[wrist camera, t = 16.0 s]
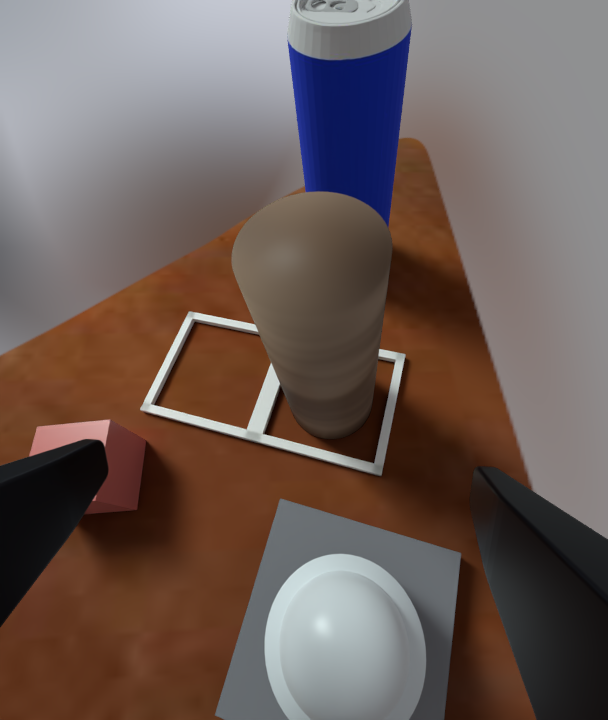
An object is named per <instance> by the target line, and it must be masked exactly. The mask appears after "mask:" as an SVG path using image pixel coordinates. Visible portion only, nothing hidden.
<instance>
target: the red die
mask: <svg viewBox="0 0 608 720" xmlns="http://www.w3.org/2000/svg"><path fill="white" fill-rule="evenodd" d="M83 439H96V440H101V441H102V442H103V443H104V446H105V451H106V456H107V461H108V466H109V472H108V476H107V478H106V480H105V482H104V483H103V485H102V486H101V488H100V490H99V491H98V493H97V494H96V496H95V498H94V499H93V501H92V502H91V504H90V505H89V507H88V509H87V510H86V512H85V513H84V514H94V513H106V512H119V511H131V510H137V506H138V499H139V491H140V484H141V476H142V469H143V461H144V454H145V446H146V440H145V439H143V438H141V437H139V436H138V435H136V434H134V433H132V432H131V431H129V430H127V429H125V428H124V427H122V426H120V425H119V424H117V423H115V422H113V421H112V420H101V421H91V422H81V423H71V424H61V425H50V426H40V427H37V430H36V434H35V437H34V441H33V445H32V448H31V452H30V456H33V455H36V454H39V453H42V452H45V451H49V450H52V449H55V448H58V447H61V446H64V445H67V444H70V443H74V442H77V441H80V440H83ZM30 456H29V457H30Z"/></svg>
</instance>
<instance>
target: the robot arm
mask: <svg viewBox="0 0 608 720" xmlns="http://www.w3.org/2000/svg"><path fill="white" fill-rule="evenodd" d="M108 472H109V466H108V461H107V456H106V451H105V446H104V443H103V442H102V441H101V440H96V439H83V440H80V441H77V442H74V443H70V444H67V445H64V446H61V447H58V448H55V449H52V450H49V451H45V452H42V453H39V454H36V455H33V456H30V457H27V458H24V459H20V460H17V461H14V462H11V463H8V464H5V465H2V466H0V627H1V626H2V624H3V623H4V622H5V620H6V619H7V618H8V617H9V615H10V614H11V613H12V611H13V610H14V609H15V607H16V606H17V605H18V603H19V602H20V601H21V599H22V598H23V597H24V595H25V594H26V593H27V591H28V590H29V589H30V588H31V586H32V585H33V584H34V582H35V581H36V580H37V578H38V577H39V576H40V574H41V573H42V572H43V570H44V569H45V568H46V566H47V565H48V564H49V563H50V561H51V560H52V559H53V557H54V556H55V555H56V553H57V552H58V551H59V549H60V548H61V547H62V545H63V544H64V543H65V541H66V540H67V539H68V537H69V536H70V535H71V533H72V532H73V530H74V529H75V527H76V526H77V524H78V523H79V521H80V520H81V518H82V517H83V515H84V513H85V512H86V510H87V509H88V507H89V505H90V504H91V502H92V501H93V499H94V498H95V496H96V494H97V493H98V491H99V490H100V488H101V486H102V485H103V483H104V482H105V480H106V478H107V476H108ZM470 510H471V514H472V518H473V523H474V527H475V531H476V536H477V540H478V544H479V549H480V553H481V557H482V562H483V566H484V570H485V574H486V577H487V580H488V583H489V586H490V589H491V592H492V594H493V597H494V600H495V603H496V606H497V609H498V611H499V614H500V617H501V620H502V623H503V626H504V628H505V631H506V634H507V637H508V640H509V643H510V645H511V648H512V651H513V654H514V657H515V659H516V662H517V665H518V668H519V671H520V674H521V676H522V679H523V682H524V685H525V688H526V691H527V693H528V696H529V699H530V702H531V705H532V707H533V710H534V713H535V716H536V719H537V720H608V539H606V538H605V537H603V536H602V535H600V534H599V533H597V532H595V531H594V530H592V529H591V528H589V527H588V526H586V525H584V524H583V523H581V522H580V521H578V520H577V519H575V518H574V517H572V516H570V515H569V514H567V513H566V512H564V511H563V510H561V509H559V508H558V507H556V506H555V505H553V504H552V503H550V502H549V501H547V500H545V499H544V498H542V497H541V496H539V495H538V494H536V493H535V492H533V491H531V490H530V489H528V488H527V487H525V486H524V485H522V484H521V483H519V482H517V481H516V480H514V479H513V478H511V477H510V476H508V475H507V474H505V473H503V472H502V471H500V470H499V469H497V468H495V467H485V466H477V467H476V468H475V469H474V472H473V478H472V485H471V492H470Z"/></svg>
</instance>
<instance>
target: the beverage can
mask: <svg viewBox="0 0 608 720" xmlns="http://www.w3.org/2000/svg"><path fill="white" fill-rule="evenodd" d="M411 26H412V19H411V13H410V6H409V0H293V1H292V4H291V10H290V17H289V25H288V32H287V38H288V47H289V56H290V64H291V72H292V81H293V89H294V97H295V105H296V113H297V122H298V130H299V139H300V147H301V155H302V164H303V172H304V179H305V189H306V192H318V191H319V192H333V193H339V194H344V195H348V196H350V197H353V198H356V199H358V200H360V201H362V202H364V203H366V204H367V205H369V206H370V207H371V208H373V209H374V210H375V211H376V212H377V213H378V214H379V215H380V216H381V217H382V218H383V220H384V221H385V223H386V225H387V227H388V225H389V217H390V208H391V199H392V191H393V182H394V174H395V165H396V156H397V148H398V139H399V130H400V122H401V113H402V104H403V96H404V87H405V79H406V70H407V62H408V53H409V44H410V36H411Z"/></svg>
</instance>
